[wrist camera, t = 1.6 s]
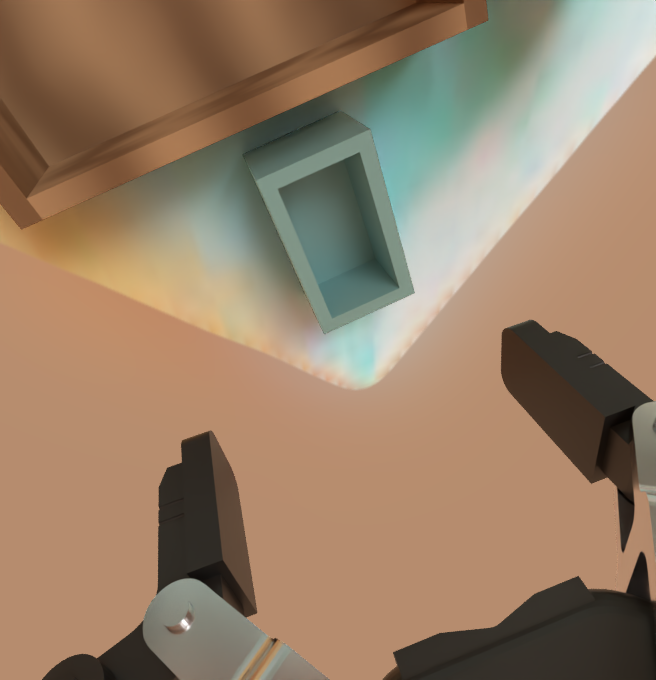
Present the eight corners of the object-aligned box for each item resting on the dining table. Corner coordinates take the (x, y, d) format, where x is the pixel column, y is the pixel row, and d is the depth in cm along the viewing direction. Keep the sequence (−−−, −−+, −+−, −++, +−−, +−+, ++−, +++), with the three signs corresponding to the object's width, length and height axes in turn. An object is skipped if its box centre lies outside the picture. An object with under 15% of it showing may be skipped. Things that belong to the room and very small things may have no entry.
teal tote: (340, 110, 27) (370, 129, 23) (385, 258, 33) (414, 292, 29) (242, 154, 27) (255, 180, 23) (305, 294, 33) (324, 334, 29)
